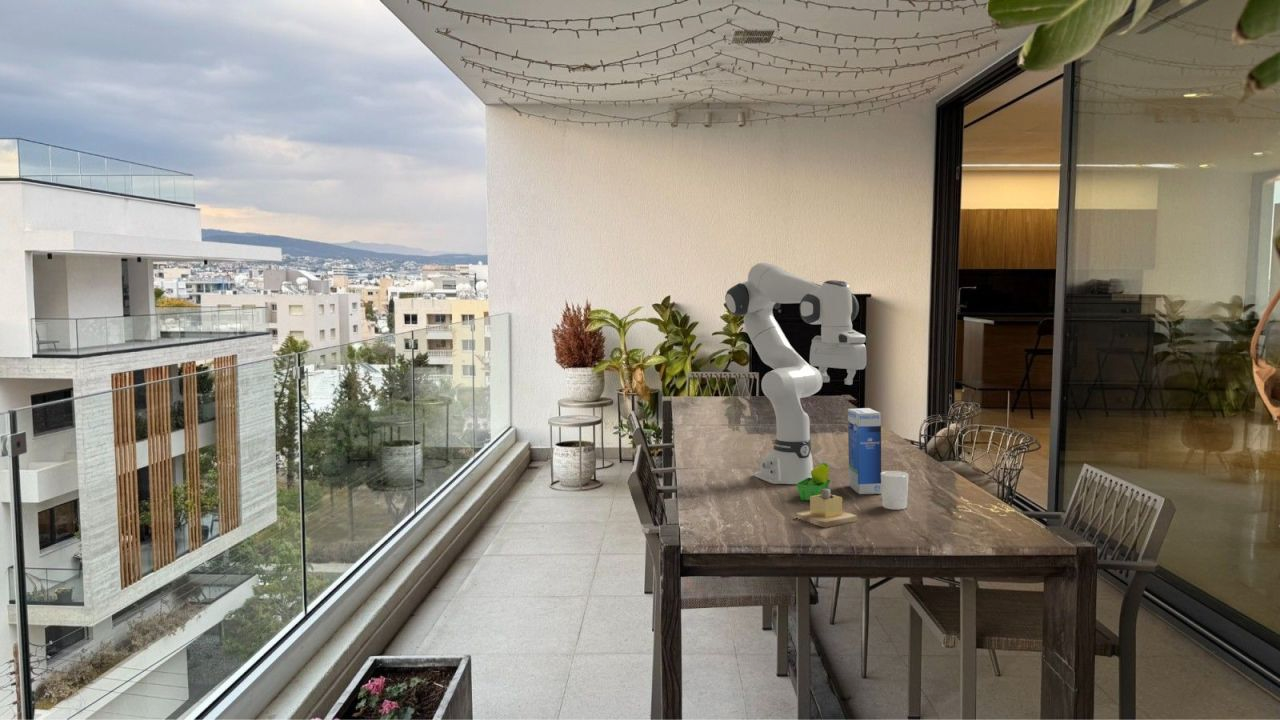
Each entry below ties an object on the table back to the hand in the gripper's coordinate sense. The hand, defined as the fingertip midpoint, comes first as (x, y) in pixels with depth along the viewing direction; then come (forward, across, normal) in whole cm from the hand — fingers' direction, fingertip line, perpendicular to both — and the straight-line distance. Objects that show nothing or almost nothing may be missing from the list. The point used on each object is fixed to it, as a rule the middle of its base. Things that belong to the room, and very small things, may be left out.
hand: (836, 383), depth 245 cm
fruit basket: (+37, -13, +3) cm, 40 cm away
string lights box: (+37, -12, +23) cm, 45 cm away
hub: (+36, +8, -12) cm, 38 cm away
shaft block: (+37, +8, -12) cm, 40 cm away
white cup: (+37, +9, +14) cm, 41 cm away
